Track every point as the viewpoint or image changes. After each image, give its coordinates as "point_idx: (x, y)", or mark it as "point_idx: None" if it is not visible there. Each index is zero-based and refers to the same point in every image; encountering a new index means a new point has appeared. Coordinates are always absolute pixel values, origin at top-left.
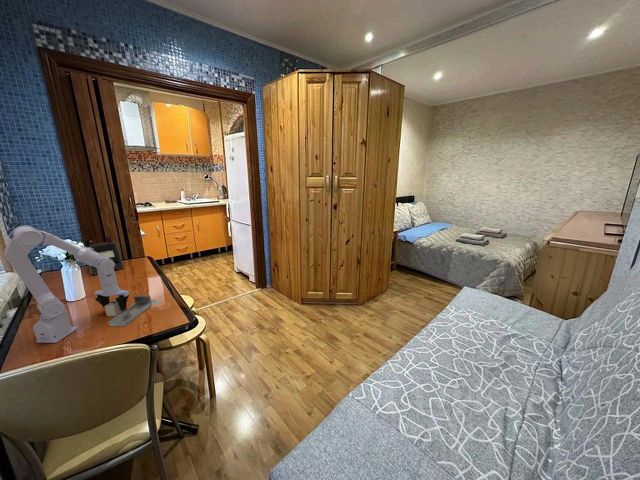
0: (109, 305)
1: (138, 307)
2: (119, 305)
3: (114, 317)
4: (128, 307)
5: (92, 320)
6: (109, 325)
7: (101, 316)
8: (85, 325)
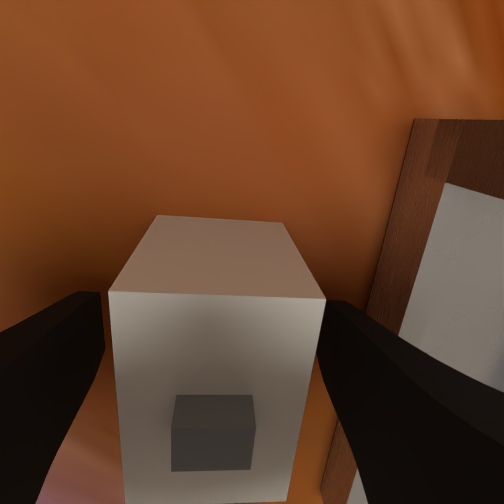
0: (198, 484)
1: (495, 266)
2: (357, 450)
3: (352, 497)
4: (404, 328)
5: (76, 434)
6: (324, 497)
7: (103, 375)
8: (91, 491)
